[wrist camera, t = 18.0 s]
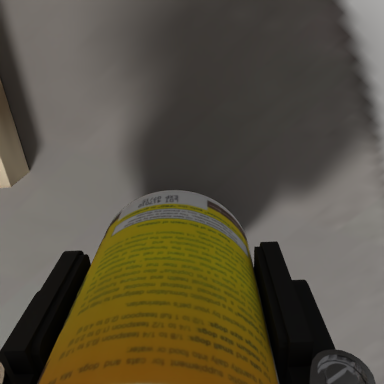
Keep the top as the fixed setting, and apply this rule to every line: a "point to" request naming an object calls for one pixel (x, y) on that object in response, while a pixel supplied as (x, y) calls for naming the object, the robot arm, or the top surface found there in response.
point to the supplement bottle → (167, 302)
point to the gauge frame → (10, 147)
